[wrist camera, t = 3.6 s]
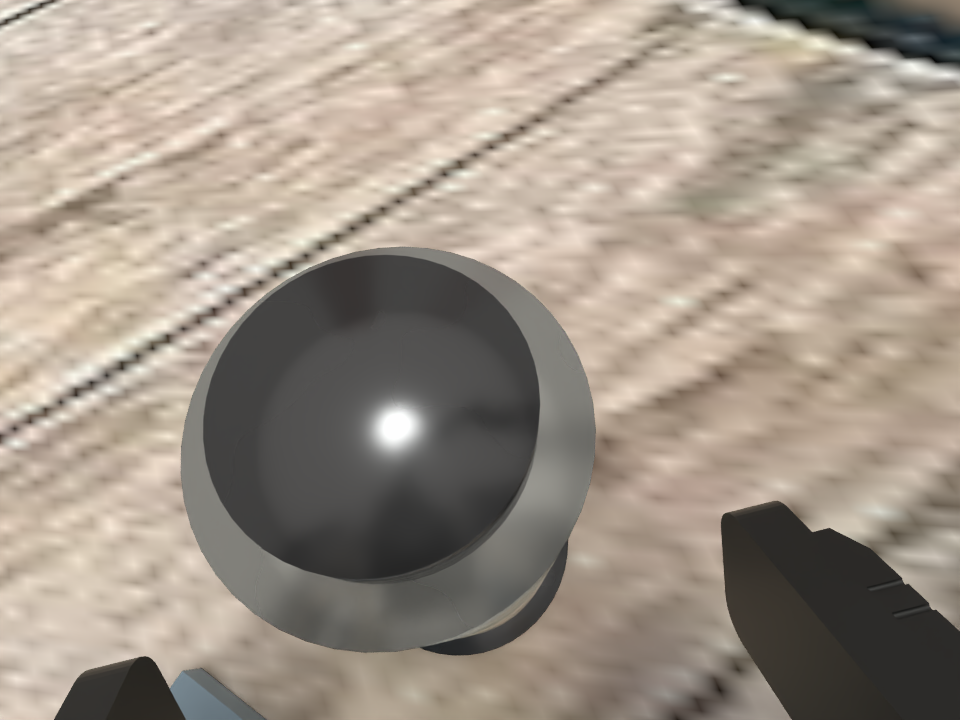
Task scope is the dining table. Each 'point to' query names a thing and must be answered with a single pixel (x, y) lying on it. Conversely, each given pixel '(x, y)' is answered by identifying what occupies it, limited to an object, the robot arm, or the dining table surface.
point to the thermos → (391, 454)
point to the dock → (208, 698)
